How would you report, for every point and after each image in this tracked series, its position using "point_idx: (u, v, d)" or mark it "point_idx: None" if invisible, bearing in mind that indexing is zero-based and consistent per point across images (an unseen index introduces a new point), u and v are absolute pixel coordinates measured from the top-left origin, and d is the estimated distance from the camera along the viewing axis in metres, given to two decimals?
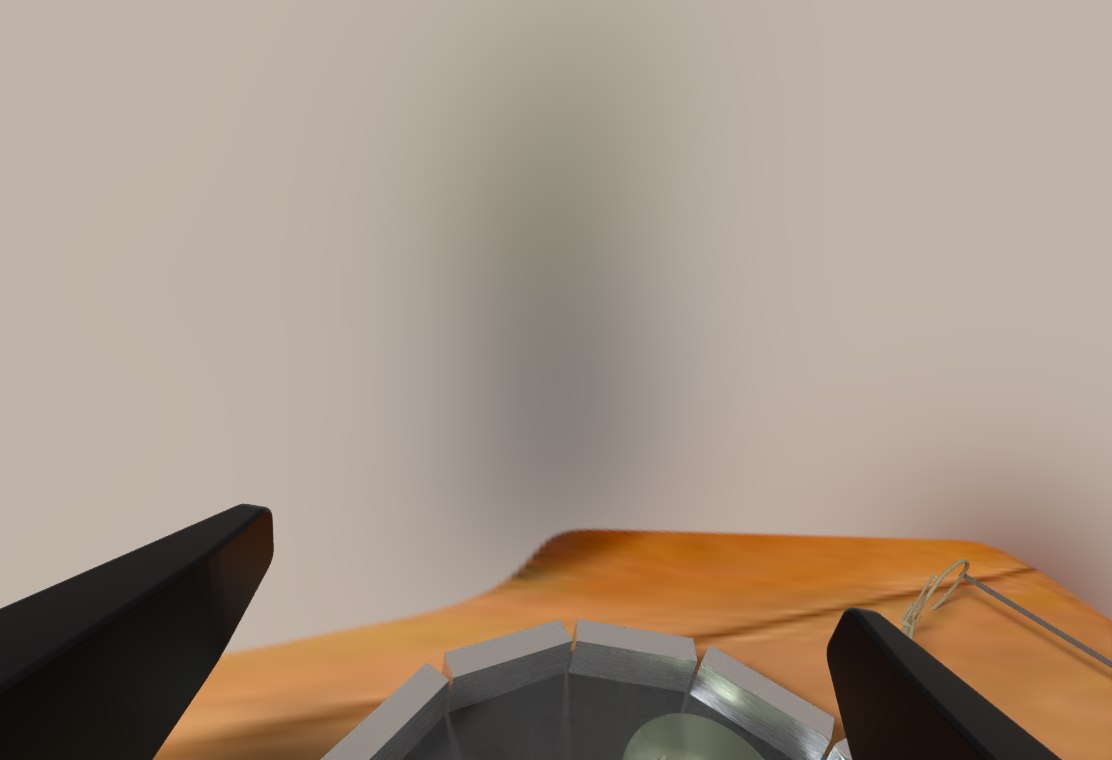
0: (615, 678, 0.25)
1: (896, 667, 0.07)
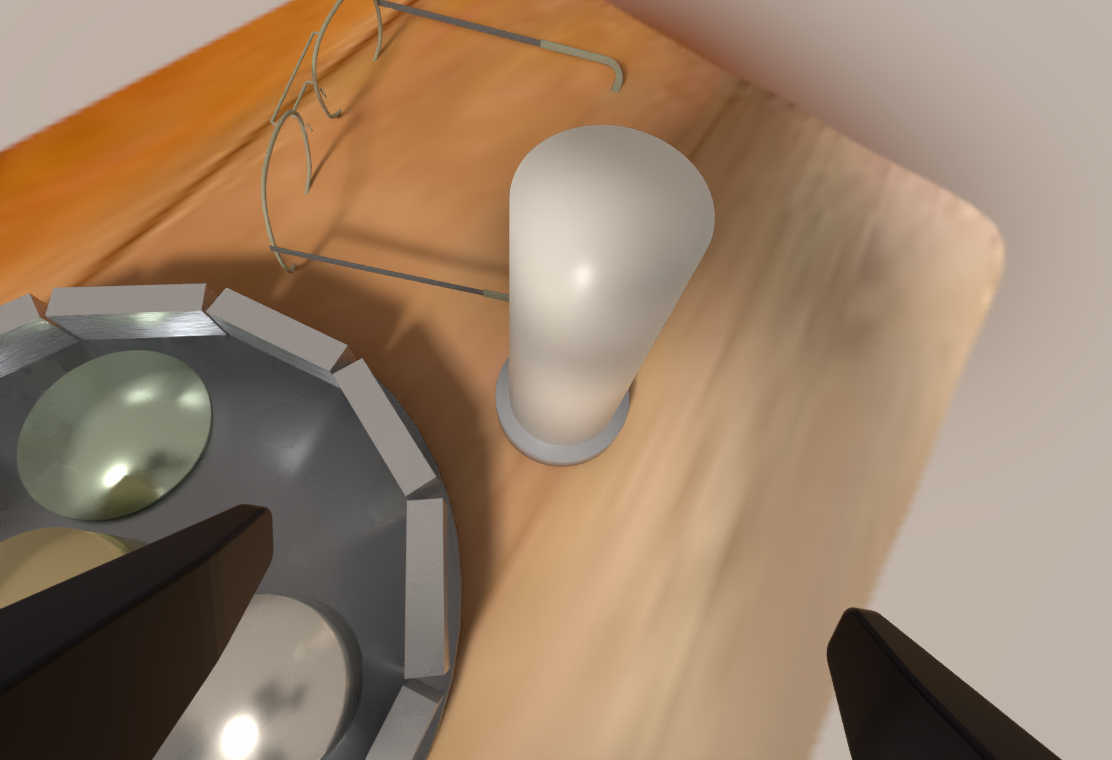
0: None
1: (896, 667, 0.07)
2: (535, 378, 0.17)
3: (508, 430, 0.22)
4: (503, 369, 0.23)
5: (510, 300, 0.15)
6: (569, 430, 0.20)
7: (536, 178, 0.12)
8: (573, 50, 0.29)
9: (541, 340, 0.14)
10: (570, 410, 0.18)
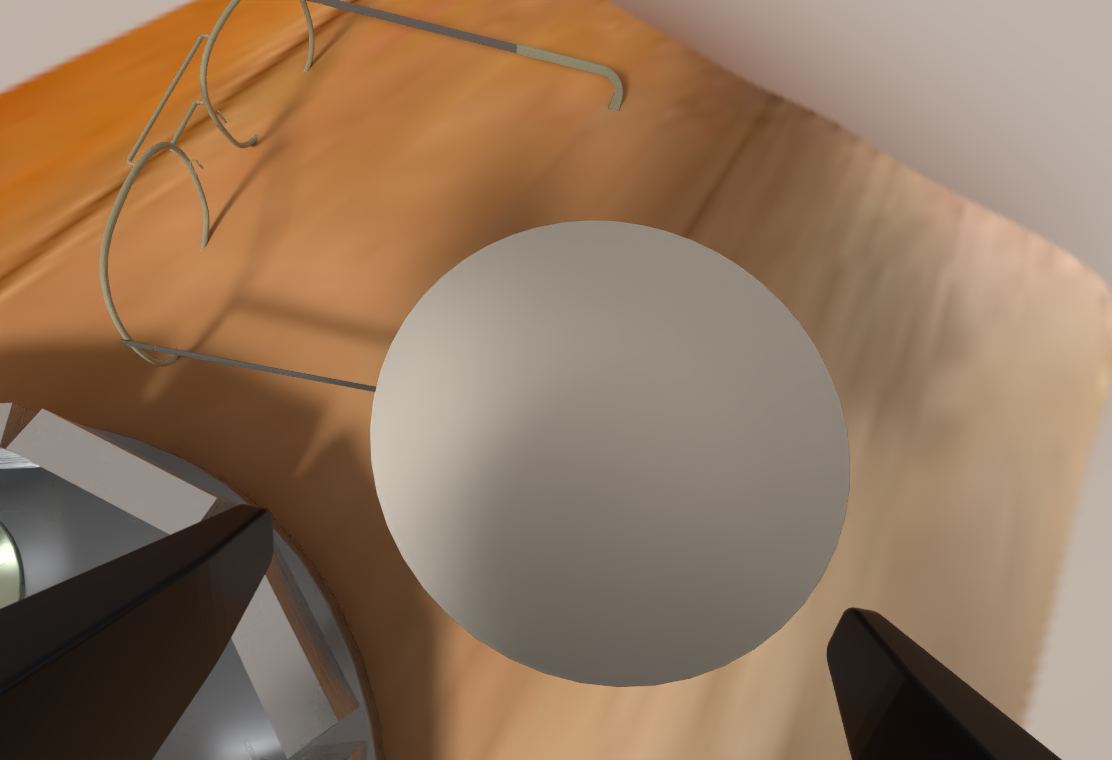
0: None
1: (896, 667, 0.07)
2: None
3: None
4: None
5: None
6: None
7: (440, 355, 0.05)
8: (559, 57, 0.23)
9: None
10: None
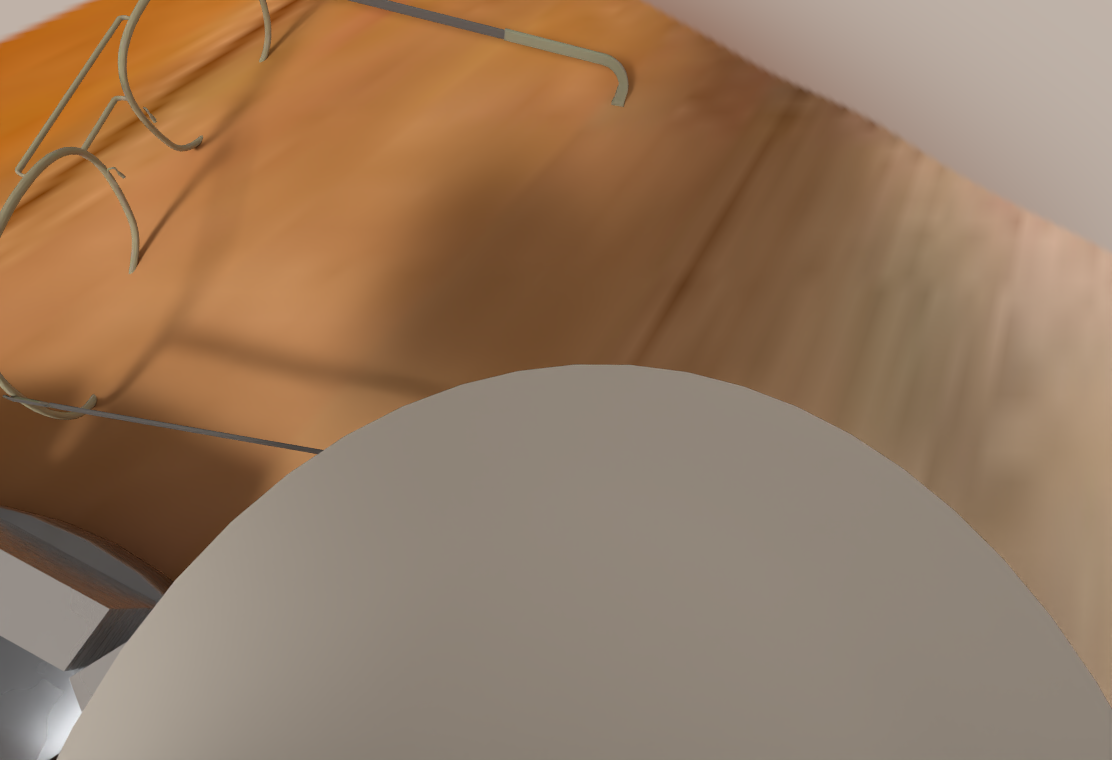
0: None
1: None
2: None
3: None
4: None
5: None
6: None
7: None
8: (554, 44, 0.20)
9: None
10: None
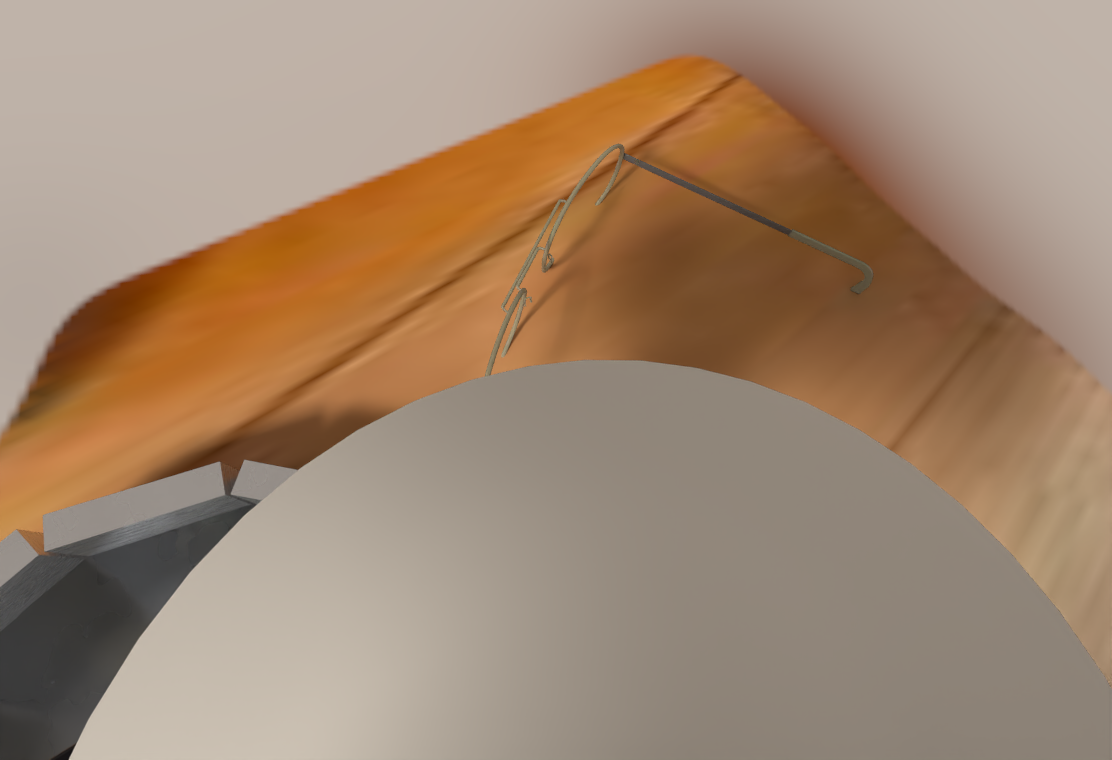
0: (156, 531, 0.20)
1: None
2: None
3: None
4: None
5: None
6: None
7: (209, 753, 0.02)
8: (825, 248, 0.26)
9: None
10: None
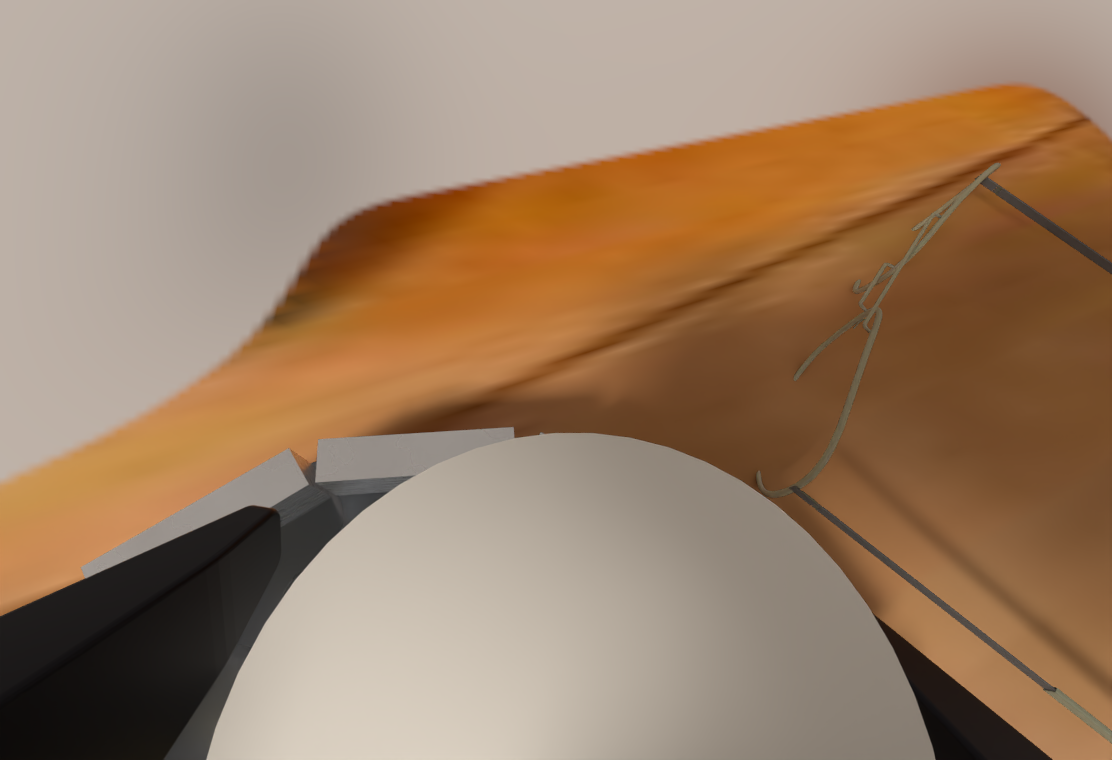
0: None
1: None
2: None
3: None
4: None
5: None
6: None
7: (313, 694, 0.03)
8: None
9: None
10: None
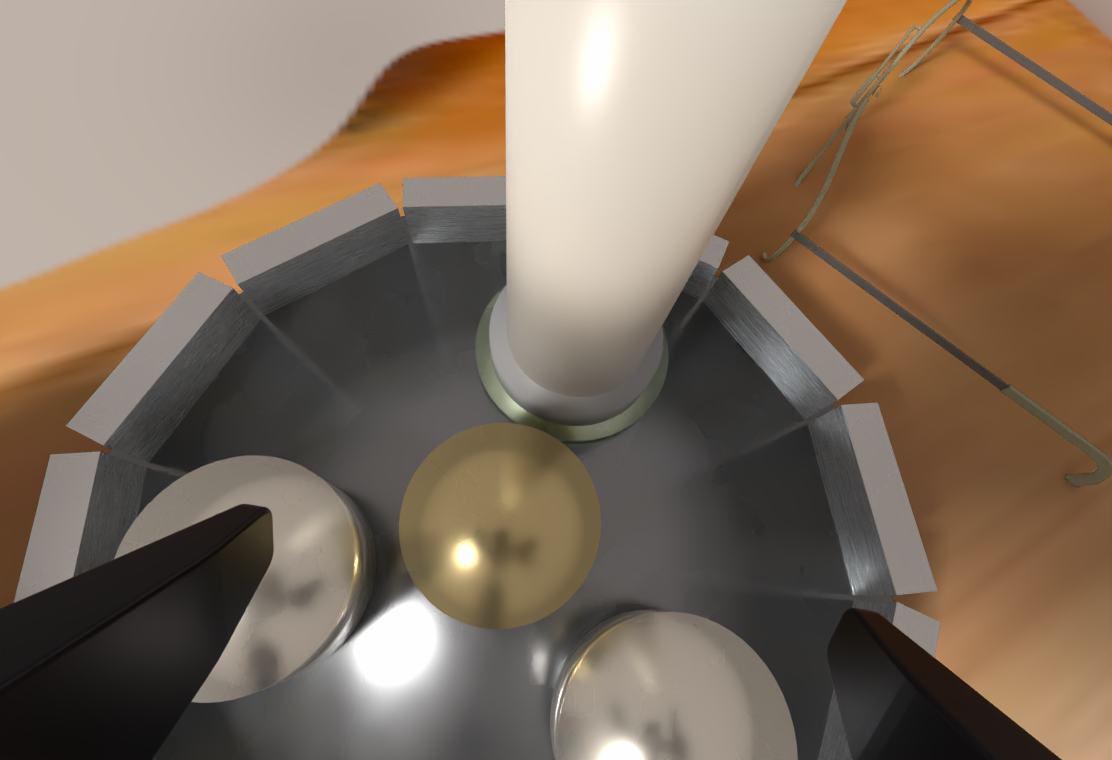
0: (473, 238, 0.20)
1: (896, 667, 0.07)
2: (544, 277, 0.11)
3: (506, 377, 0.17)
4: (499, 300, 0.18)
5: (507, 136, 0.09)
6: (589, 370, 0.15)
7: None
8: None
9: (557, 186, 0.09)
10: (594, 332, 0.13)
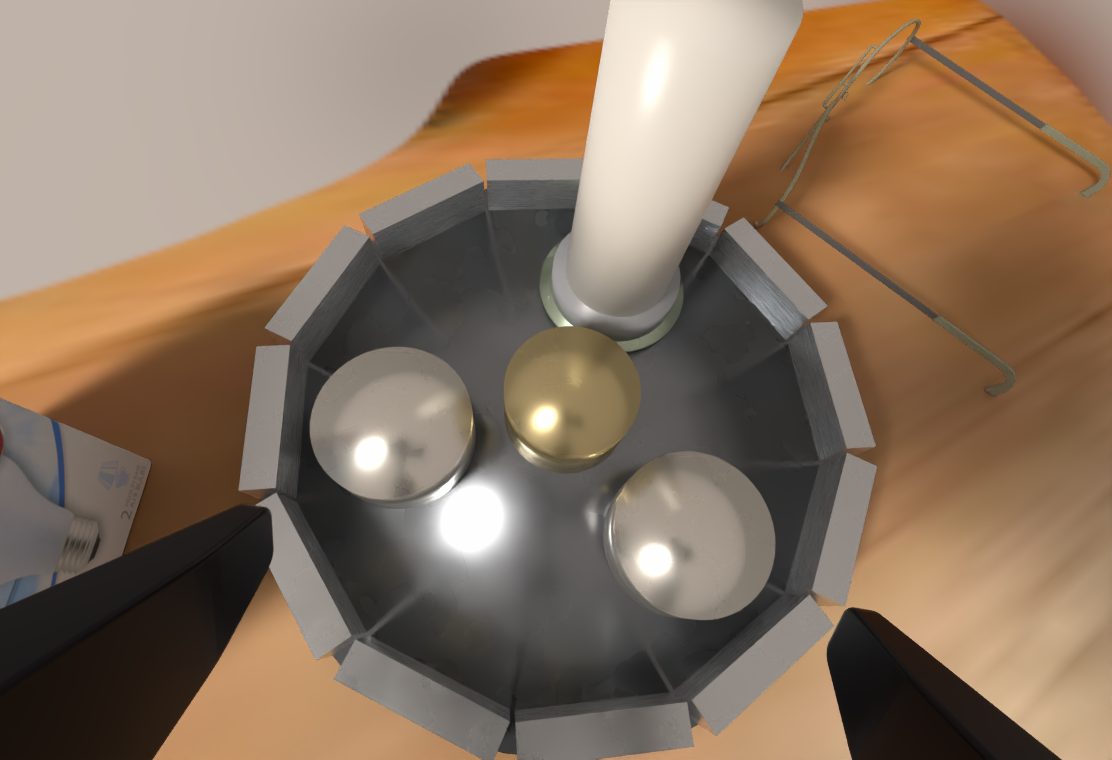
0: (533, 207, 0.26)
1: (896, 667, 0.07)
2: (609, 214, 0.18)
3: (566, 302, 0.23)
4: (559, 249, 0.24)
5: (595, 121, 0.16)
6: (631, 290, 0.21)
7: None
8: (1073, 144, 0.30)
9: (628, 150, 0.15)
10: (638, 255, 0.19)
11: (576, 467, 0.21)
